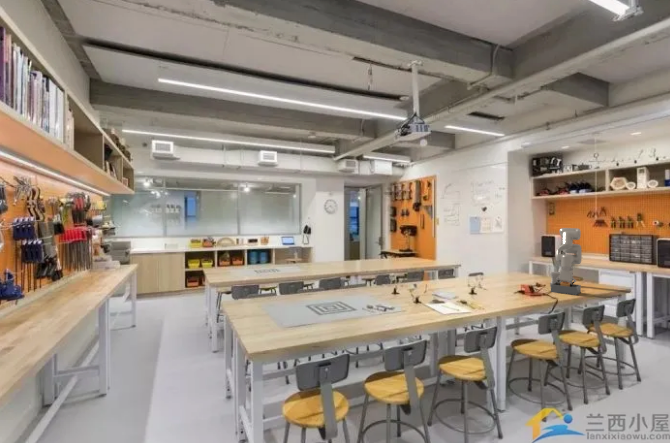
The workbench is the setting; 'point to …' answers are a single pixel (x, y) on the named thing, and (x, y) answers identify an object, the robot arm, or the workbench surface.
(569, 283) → the small crate
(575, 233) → the robot arm
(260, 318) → the workbench surface
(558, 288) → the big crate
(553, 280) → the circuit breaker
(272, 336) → the workbench surface
